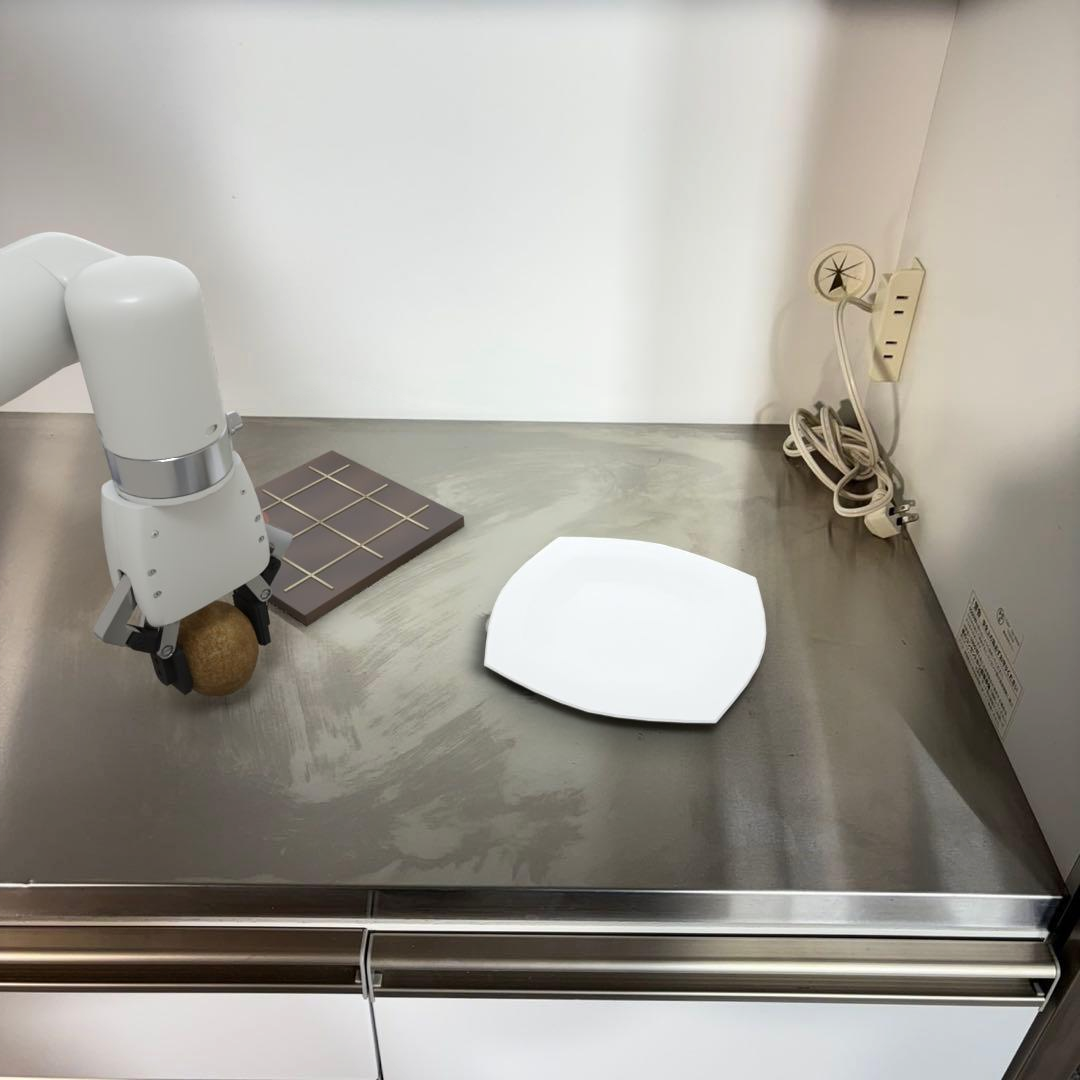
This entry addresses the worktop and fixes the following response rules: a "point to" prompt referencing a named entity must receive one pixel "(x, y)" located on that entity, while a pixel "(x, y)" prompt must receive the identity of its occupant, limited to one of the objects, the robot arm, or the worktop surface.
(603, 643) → the plate
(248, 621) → the fruit
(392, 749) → the worktop surface
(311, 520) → the board
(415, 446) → the worktop surface
